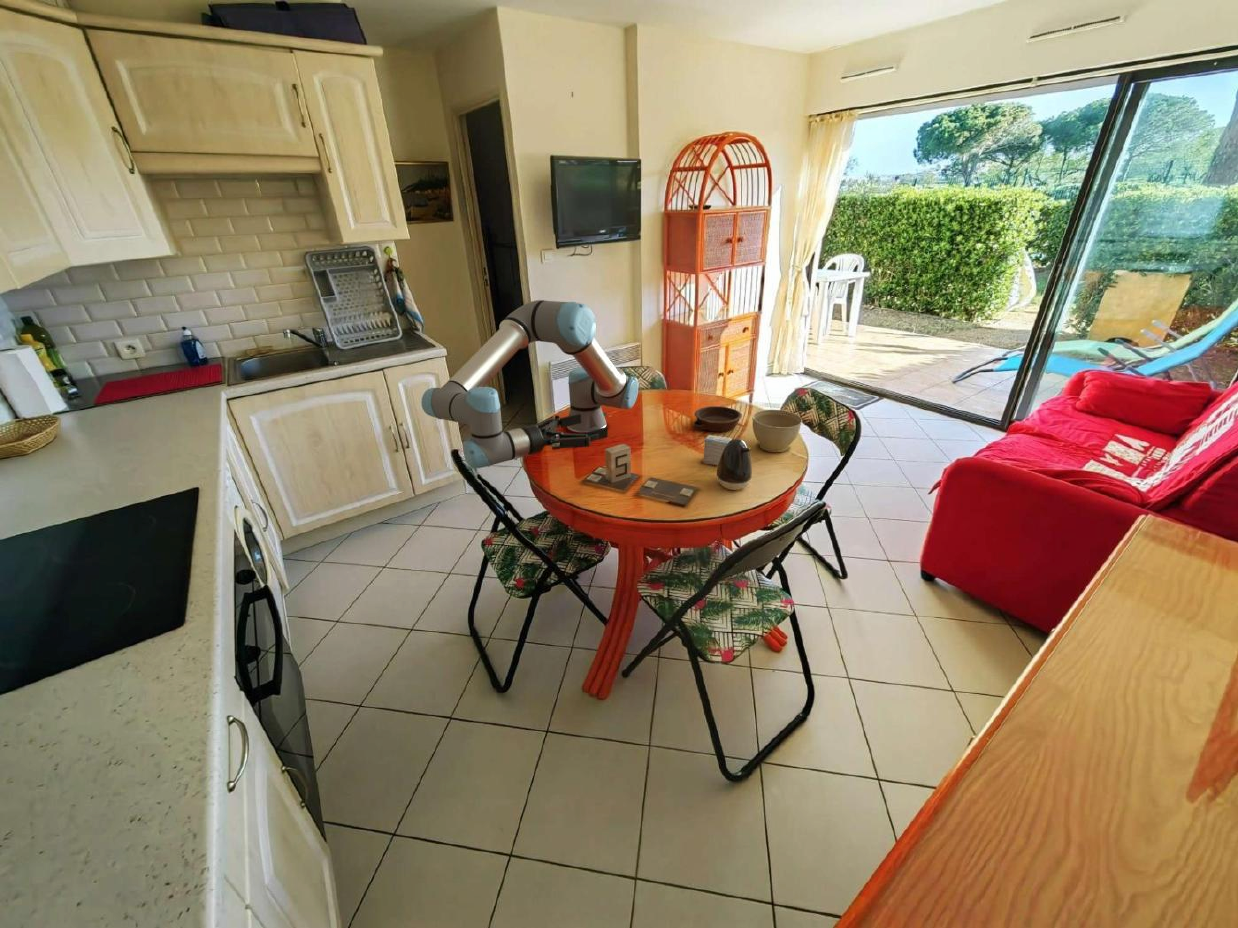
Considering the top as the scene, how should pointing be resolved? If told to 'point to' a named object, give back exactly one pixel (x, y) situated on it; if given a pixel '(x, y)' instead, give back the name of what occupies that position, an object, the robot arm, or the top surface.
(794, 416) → the planter bowl
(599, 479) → the left mat
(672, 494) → the right mat
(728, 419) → the dish
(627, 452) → the small grey cuboid
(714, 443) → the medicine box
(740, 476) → the pump dispenser
